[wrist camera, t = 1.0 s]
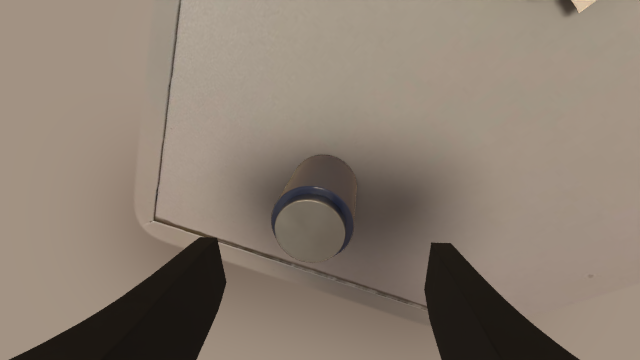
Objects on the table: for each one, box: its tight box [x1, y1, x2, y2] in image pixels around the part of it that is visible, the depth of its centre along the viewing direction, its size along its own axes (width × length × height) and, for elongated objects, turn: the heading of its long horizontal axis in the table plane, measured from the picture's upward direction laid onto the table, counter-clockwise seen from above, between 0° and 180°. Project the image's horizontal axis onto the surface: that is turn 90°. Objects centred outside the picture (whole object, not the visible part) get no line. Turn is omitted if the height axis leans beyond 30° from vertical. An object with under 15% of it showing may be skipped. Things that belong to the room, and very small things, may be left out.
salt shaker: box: [271, 155, 357, 263], centre depth 20 cm, size 4×4×6 cm
